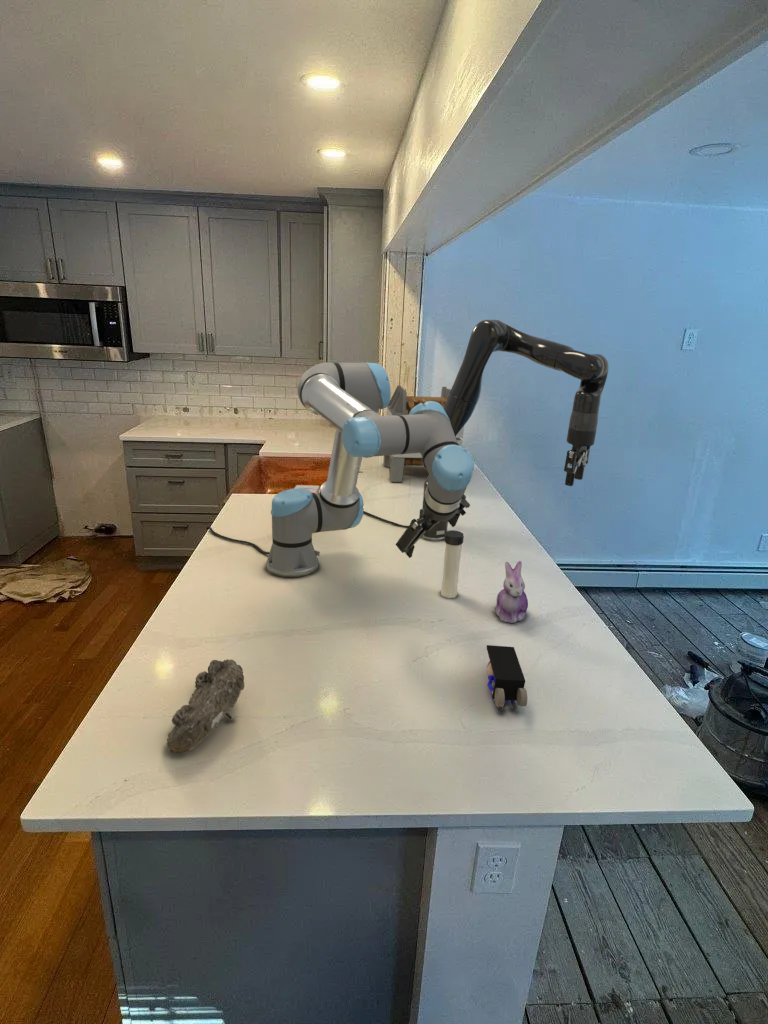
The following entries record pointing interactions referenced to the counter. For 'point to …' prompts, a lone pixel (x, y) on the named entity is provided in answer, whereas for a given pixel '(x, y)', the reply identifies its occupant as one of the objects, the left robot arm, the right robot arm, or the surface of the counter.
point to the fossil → (206, 705)
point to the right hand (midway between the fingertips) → (573, 482)
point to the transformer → (403, 406)
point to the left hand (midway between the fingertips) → (429, 537)
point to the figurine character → (506, 677)
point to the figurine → (512, 596)
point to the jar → (451, 570)
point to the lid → (454, 537)
